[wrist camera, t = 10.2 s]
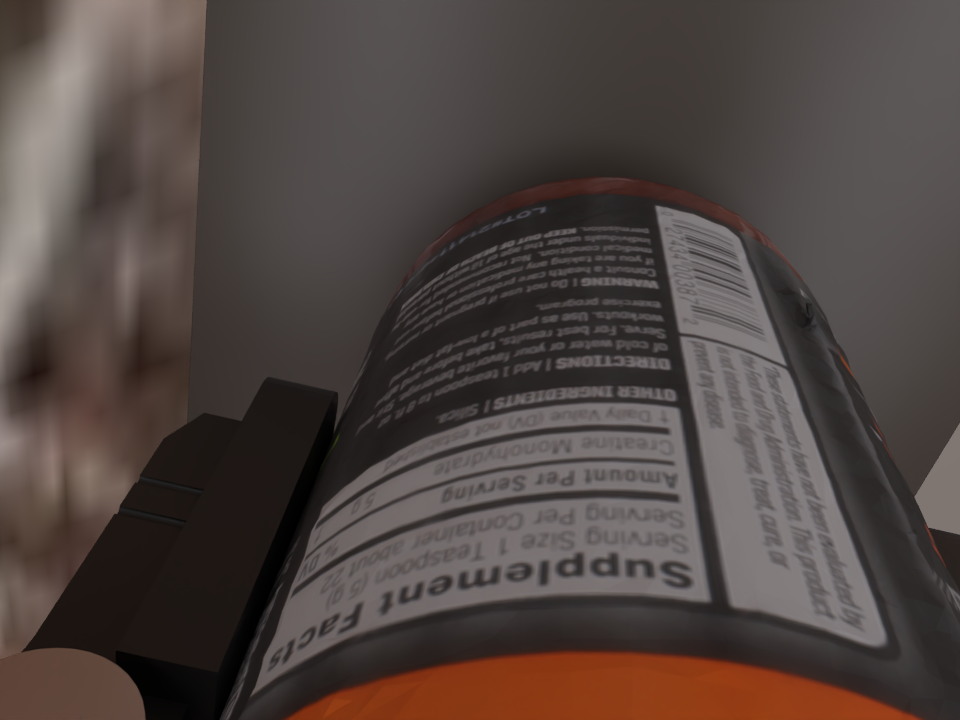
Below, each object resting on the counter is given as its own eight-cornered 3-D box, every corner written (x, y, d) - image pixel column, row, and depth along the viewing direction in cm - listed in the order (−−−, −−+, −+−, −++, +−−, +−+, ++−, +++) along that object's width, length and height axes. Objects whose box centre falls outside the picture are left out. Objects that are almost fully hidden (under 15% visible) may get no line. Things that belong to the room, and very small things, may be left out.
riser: (250, 400, 20) (182, 522, 17) (307, -234, 14) (218, -245, 10) (774, 520, 20) (811, 662, 17) (1064, -46, 14) (1216, 3, 11)
